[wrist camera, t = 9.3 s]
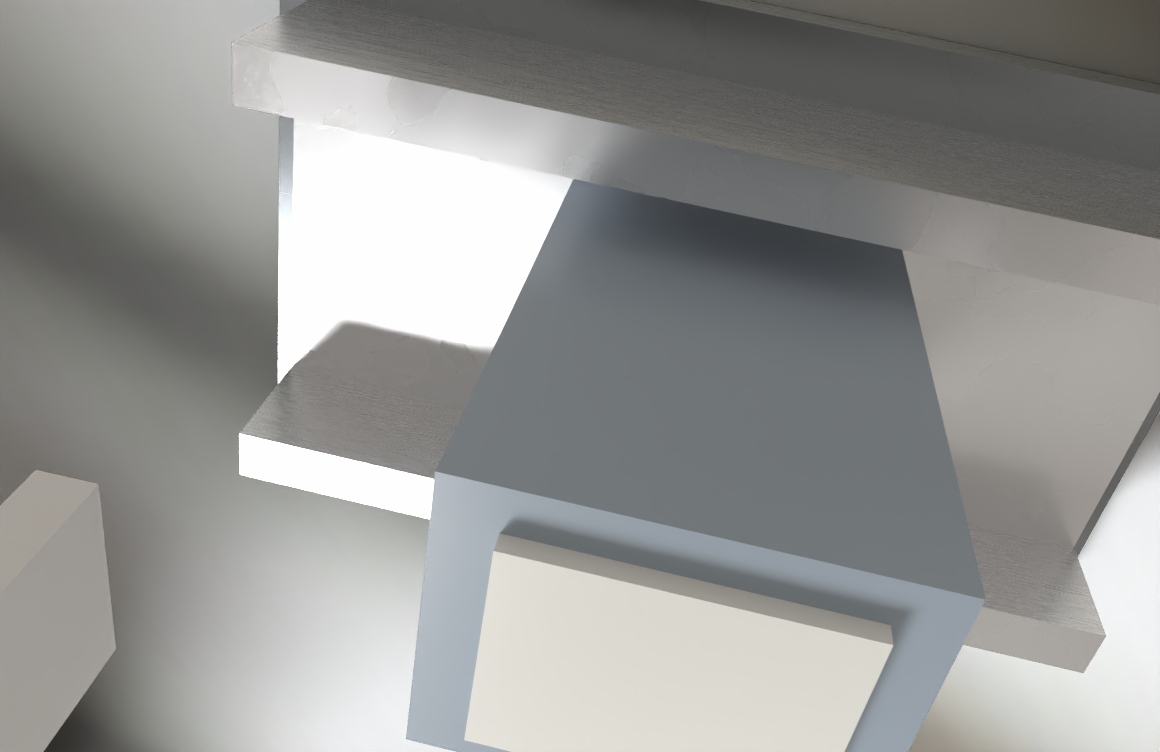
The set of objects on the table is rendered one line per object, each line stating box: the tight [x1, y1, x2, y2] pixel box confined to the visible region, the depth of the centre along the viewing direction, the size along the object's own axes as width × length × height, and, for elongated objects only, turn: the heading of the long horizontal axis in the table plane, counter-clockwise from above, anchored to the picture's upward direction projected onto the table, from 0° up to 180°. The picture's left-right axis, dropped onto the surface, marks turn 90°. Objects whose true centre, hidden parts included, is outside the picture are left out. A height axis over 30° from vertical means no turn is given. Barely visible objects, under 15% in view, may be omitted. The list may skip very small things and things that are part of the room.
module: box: [406, 179, 986, 752], centre depth 16 cm, size 6×4×9 cm
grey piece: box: [231, 0, 1160, 673], centre depth 20 cm, size 18×11×4 cm, turn 81°
